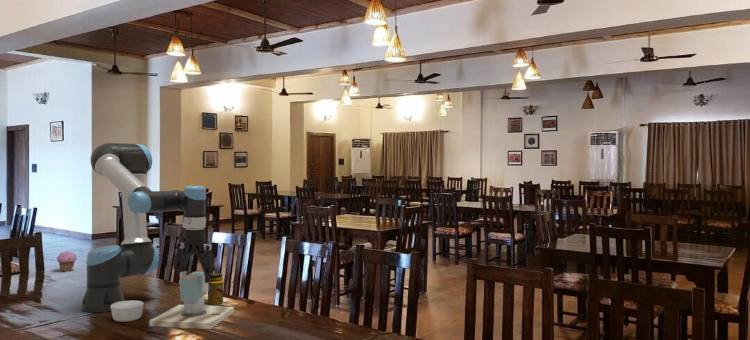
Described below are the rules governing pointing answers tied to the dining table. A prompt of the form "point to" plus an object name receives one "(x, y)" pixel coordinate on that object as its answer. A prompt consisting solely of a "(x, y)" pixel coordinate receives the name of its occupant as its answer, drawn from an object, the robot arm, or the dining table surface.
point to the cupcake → (66, 261)
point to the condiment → (215, 290)
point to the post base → (192, 317)
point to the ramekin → (127, 310)
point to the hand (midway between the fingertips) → (194, 290)
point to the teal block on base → (192, 293)
